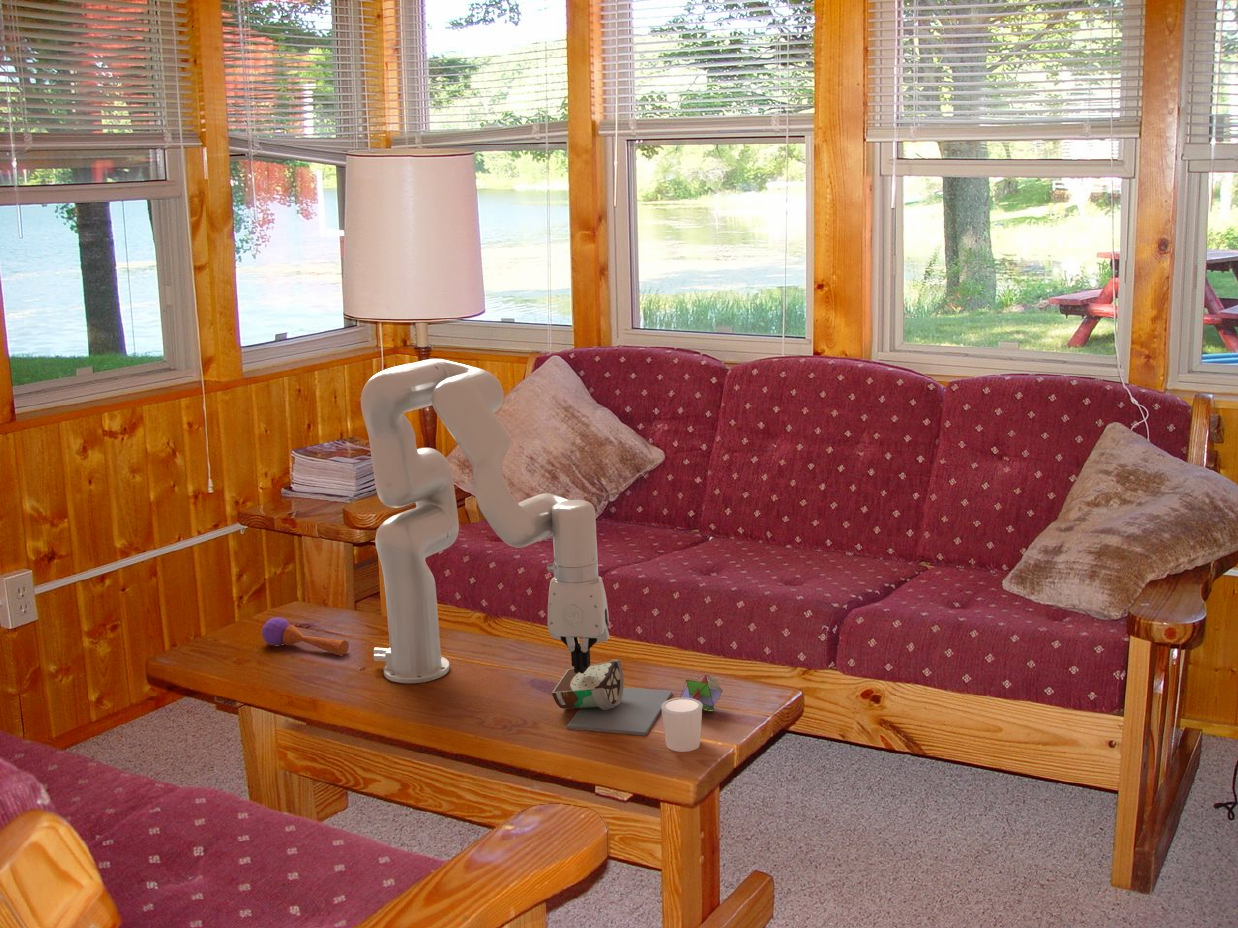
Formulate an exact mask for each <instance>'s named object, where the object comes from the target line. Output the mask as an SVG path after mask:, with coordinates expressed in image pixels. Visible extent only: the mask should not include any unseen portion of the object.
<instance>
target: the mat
mask: <svg viewBox="0 0 1238 928" xmlns="http://www.w3.org/2000/svg"><path fill="white" fill-rule="evenodd" d="M672 694H673V691H672V690H667V689H666V690H664V689H653V688H652V689H650V688H639V687H637V688H636V687H626V686H625V687H624V689H623V696H622V699H621V702H620V703H619V704H618V705H616V706H615V707H614V708H611V709H608V710H602V709H601V708H600V707H590V708H578V711H577V712H576V713H575V714H574V716H573V717H572V718H571V720H569V722H568V723H567V724H566V729H567V730H568V729H569V730H579V731H590V732H601V733H602V732H603V733H610V734H611V733H612V734H622V735H633V736H634V735H635V736H644V737H645V736H646V737H647V734H648V733H649V731H650V730H651V728H652V727H653V724H655V722H656V720H657V718H658V717H659V716H660V713H662V710H661V706H662V704H663V703H664V702H665V701H667V700H670V699H671V696H672Z"/></svg>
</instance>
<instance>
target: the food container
mask: <svg viewBox="0 0 1238 928" xmlns="http://www.w3.org/2000/svg"><path fill="white" fill-rule="evenodd" d="M623 671H624V670H623V665H622V660H621V659H610V661H605V662H601V663H600V662H599V663H595V664H590V667H589V668H588V669H587V670H586V671H585V672H584V673H583V674H582V673H579V672H578V673H574V667H573V668H568V669H567V670H566V671H565V673H564V674H563V676H562V677H561V679H560V680H559V681H558V683H557V684H556V686H555V687H554V689H553V691H552V692H551V695H552V697H553V700H554V701H555V704H556V705H557V706H558V707H559V709H563V710H565V709H580V708H590V707H600V708H601V709H602V710H608V709H611V708H614V707H615V706H616V705H618V704H619V703H620V702H621V699H622V696H623V689H624V685H625V684H624V683H625V680H624V672H623Z"/></svg>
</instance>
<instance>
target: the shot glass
mask: <svg viewBox="0 0 1238 928" xmlns="http://www.w3.org/2000/svg"><path fill="white" fill-rule="evenodd" d="M661 710H662V711H661V715H662V723H663V731H664V740H665V745H666V747H667V748H668V749H669V750H671V751H674V752H678V753H680V752H681V753H687V752H692V751H694V750H697V749H698V748H699V747H700V746H701V733H702V732H701V730H702V715H703V714H702V713H703V710H702V703H701V702H700V701H698V700H696V699H692V698H680V697H674V698H669V700H667V701H665V702H664V703H663V704H662V706H661Z"/></svg>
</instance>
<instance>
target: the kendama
mask: <svg viewBox="0 0 1238 928" xmlns="http://www.w3.org/2000/svg"><path fill="white" fill-rule="evenodd" d="M261 633H262V638H263V640H264V642H265V643H267V644H268V645H269V644H271V645H282V644H285V646H290V645H294V644H297V643H301V642H304V643H306V644H309V645H311V646H314V647H316V648H319V649H320V650H323V651H325V652H328V653H331V654H333V655H336V656H338V655H339V656H338V657H342V656H341V655H343V654H345V653H346V652H347V653H348V652H349V647H350V644H349V642H348V640H345V639H335V638H327V637H326V638H325V637H317V636H311V635H310V636H307V635H304V634H303V633H302V632H301V631H300V630H299V629H298V628H297V627H296V626H295V625H293V624H291V623H290V622H289V621H288V620H287V619H285V618H283V617H278V616H275V617H271V618H270V619H268V620H267V621H266V622H265V623H264V624H263V627H262V631H261ZM271 645H270V646H271ZM345 655H346V654H345ZM343 656H344V655H343Z"/></svg>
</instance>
